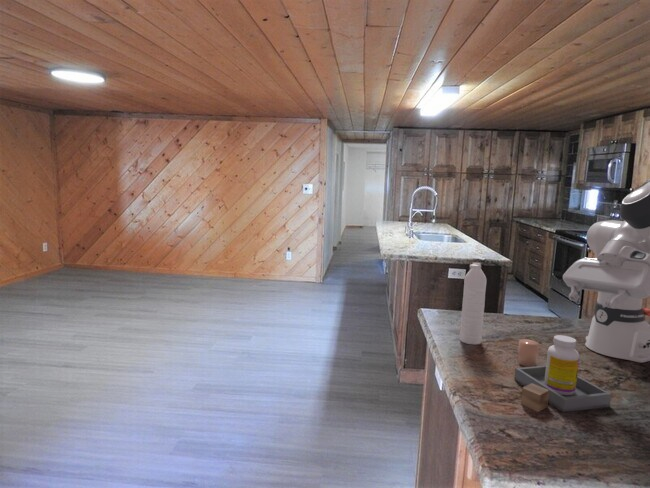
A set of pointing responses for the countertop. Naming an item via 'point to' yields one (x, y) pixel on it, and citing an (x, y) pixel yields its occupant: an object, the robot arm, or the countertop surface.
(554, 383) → the supplement bottle
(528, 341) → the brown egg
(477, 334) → the water bottle
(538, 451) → the countertop surface
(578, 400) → the tray
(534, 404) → the walnut block
